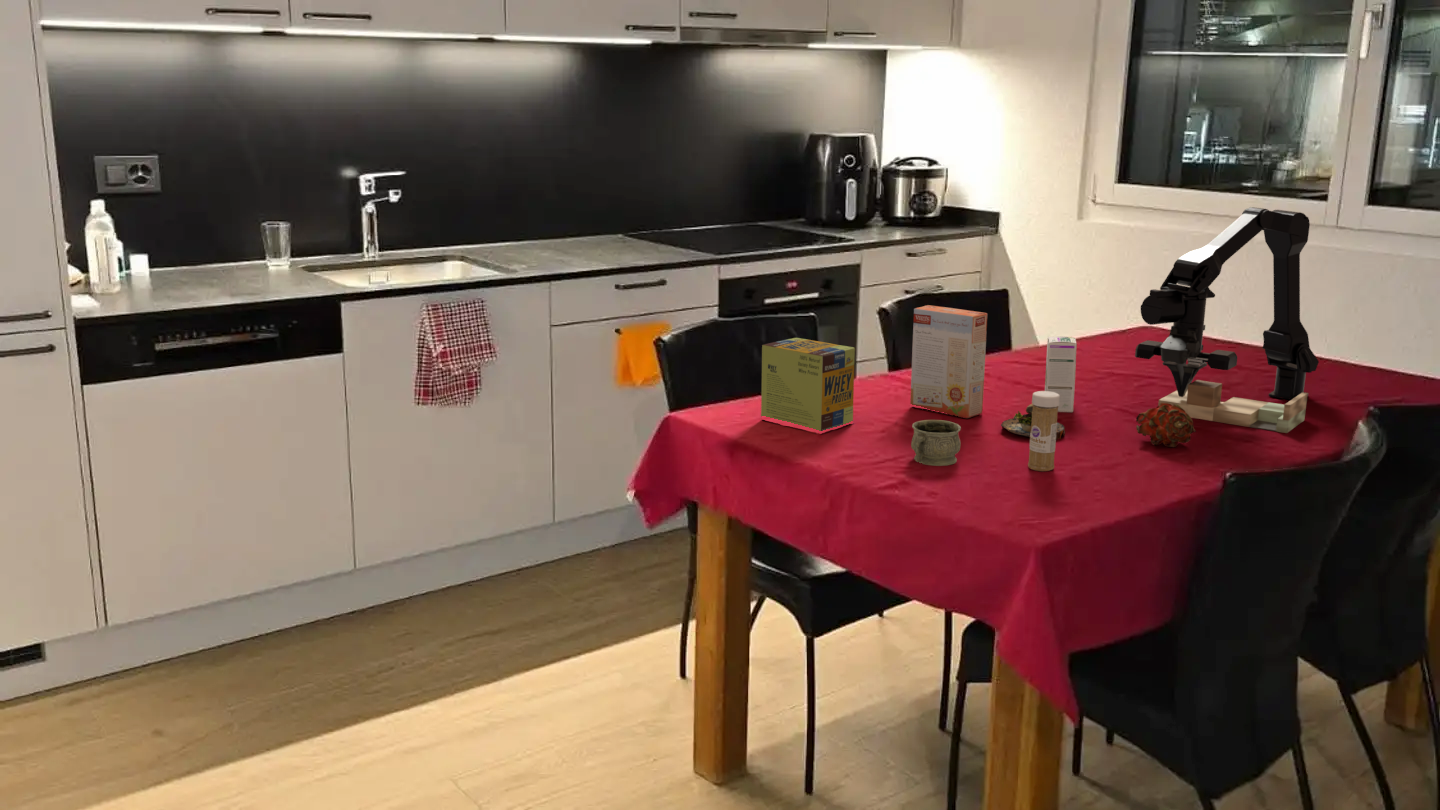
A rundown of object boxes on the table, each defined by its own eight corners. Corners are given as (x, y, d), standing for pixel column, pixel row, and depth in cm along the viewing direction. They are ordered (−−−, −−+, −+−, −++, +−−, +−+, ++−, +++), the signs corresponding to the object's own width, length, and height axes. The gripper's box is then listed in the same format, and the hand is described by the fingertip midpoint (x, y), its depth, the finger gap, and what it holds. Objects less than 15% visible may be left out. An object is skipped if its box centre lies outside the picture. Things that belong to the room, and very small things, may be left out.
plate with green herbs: (989, 429, 249) (991, 392, 247) (1040, 423, 253) (1042, 386, 251) (1025, 445, 238) (1027, 406, 236) (1078, 439, 242) (1080, 400, 240)
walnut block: (1195, 399, 260) (1197, 379, 259) (1220, 402, 257) (1222, 383, 256) (1186, 403, 256) (1188, 384, 255) (1211, 407, 253) (1213, 388, 252)
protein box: (821, 435, 244) (823, 355, 240) (760, 421, 254) (760, 344, 250) (854, 424, 251) (856, 347, 247) (793, 410, 261) (794, 336, 257)
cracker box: (983, 414, 258) (989, 312, 253) (967, 420, 254) (972, 316, 249) (925, 402, 268) (929, 303, 262) (908, 407, 263) (912, 307, 258)
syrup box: (1073, 412, 259) (1078, 342, 256) (1043, 411, 261) (1048, 341, 257) (1071, 405, 265) (1076, 336, 261) (1042, 404, 266) (1047, 335, 262)
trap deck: (1178, 400, 269) (1181, 374, 268) (1304, 420, 254) (1307, 393, 253) (1157, 411, 260) (1160, 385, 259) (1286, 433, 245) (1290, 405, 244)
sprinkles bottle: (1023, 468, 223) (1027, 393, 220) (1035, 462, 227) (1040, 388, 223) (1047, 473, 220) (1052, 398, 217) (1059, 467, 224) (1064, 393, 220)
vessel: (935, 448, 236) (936, 415, 234) (975, 458, 230) (977, 424, 228) (894, 461, 227) (895, 427, 226) (935, 472, 221) (936, 437, 220)
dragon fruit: (1189, 461, 232) (1136, 455, 243) (1213, 429, 235) (1159, 423, 245) (1170, 428, 229) (1117, 423, 239) (1194, 395, 232) (1140, 391, 242)
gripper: (1127, 320, 255) (1121, 396, 259) (1222, 332, 244) (1214, 412, 248) (1148, 312, 263) (1142, 386, 267) (1241, 324, 252) (1233, 400, 256)
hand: (1181, 396), depth 259 cm, fingers closed
